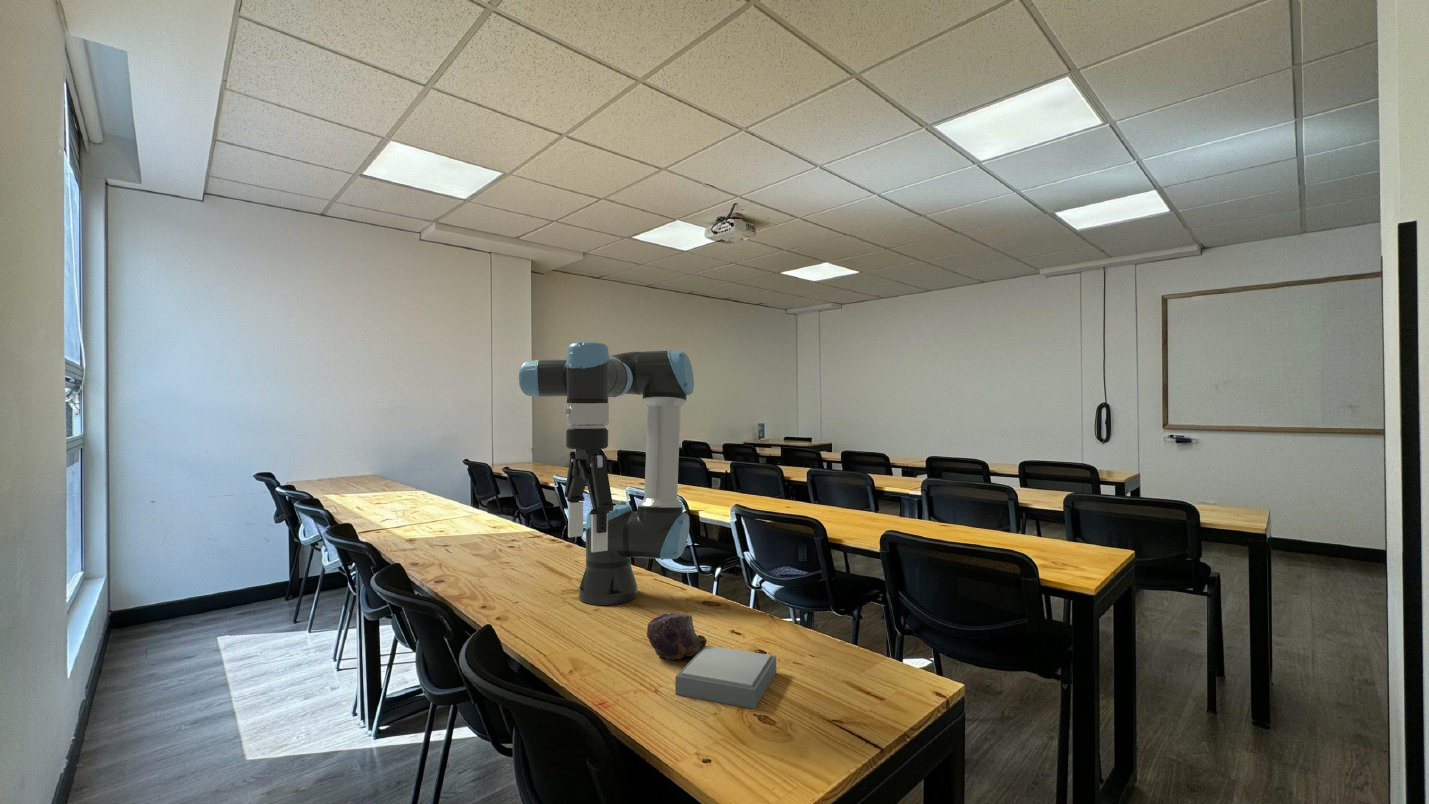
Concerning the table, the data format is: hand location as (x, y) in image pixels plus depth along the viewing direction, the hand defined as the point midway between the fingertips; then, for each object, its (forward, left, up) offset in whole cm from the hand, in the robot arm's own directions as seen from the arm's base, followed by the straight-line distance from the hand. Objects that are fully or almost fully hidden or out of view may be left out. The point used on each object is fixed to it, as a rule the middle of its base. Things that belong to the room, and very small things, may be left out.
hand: (586, 543), depth 105 cm
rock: (-13, +11, -24) cm, 30 cm away
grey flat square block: (-6, +25, -24) cm, 35 cm away
